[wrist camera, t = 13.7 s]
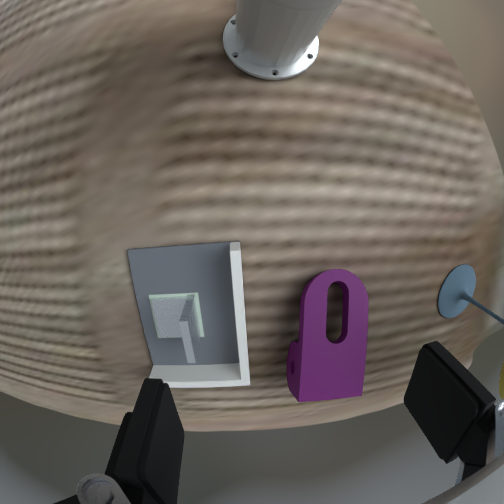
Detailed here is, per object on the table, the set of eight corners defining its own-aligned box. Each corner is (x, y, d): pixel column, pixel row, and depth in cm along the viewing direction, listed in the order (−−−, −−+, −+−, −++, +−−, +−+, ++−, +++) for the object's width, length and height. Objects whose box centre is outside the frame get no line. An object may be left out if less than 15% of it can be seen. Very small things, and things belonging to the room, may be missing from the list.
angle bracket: (194, 295, 37) (187, 321, 30) (200, 333, 39) (195, 362, 32) (152, 297, 37) (138, 322, 30) (160, 334, 38) (149, 363, 32)
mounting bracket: (290, 273, 44) (285, 385, 41) (305, 267, 36) (298, 401, 33) (345, 276, 45) (339, 382, 42) (369, 270, 37) (361, 395, 34)
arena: (128, 249, 35) (116, 258, 31) (239, 240, 36) (240, 250, 32) (156, 368, 41) (150, 386, 36) (248, 365, 42) (250, 385, 37)
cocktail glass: (475, 321, 44) (548, 380, 20) (415, 343, 44) (492, 430, 20) (490, 240, 39) (585, 282, 15) (429, 250, 39) (548, 315, 15)
